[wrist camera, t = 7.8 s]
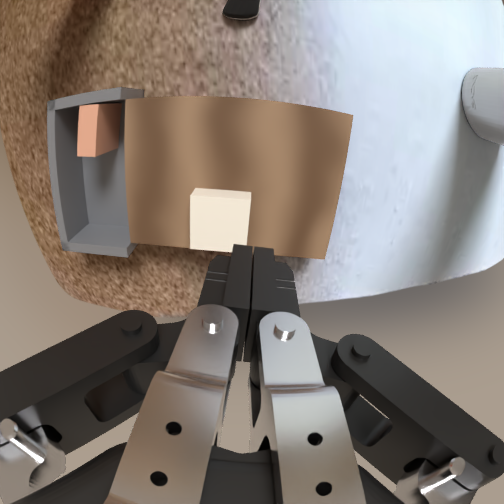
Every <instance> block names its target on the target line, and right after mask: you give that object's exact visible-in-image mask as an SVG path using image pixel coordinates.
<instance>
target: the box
mask: <svg viewBox="0 0 504 504" xmlns="http://www.w3.org/2000/svg"><path fill="white" fill-rule="evenodd" d="M135 98H144V90H141V89H133V88H123V87H119V88H112V89H105V90H99V91H93V92H87V93H82V94H77V95H72V96H68V97H63V98H59V99H55V100H51V101H48V102H47V139H48V158H49V170H50V180H51V188H52V196H53V202H54V209H55V215H56V220H57V226H58V231H59V235H60V240H61V244H62V249H63V250H64V251H73V252H82V253H91V254H100V255H109V256H118V257H129V255H130V254H131V253H132V251H133V250H134V249H135V247H136V246H137V245H138V243H131V242H130V233H129V223H128V212H127V199H126V182H125V148H124V135H125V101H126V99H135ZM113 103H122V108H121V118H120V130H119V145H118V148H117V149H114V150H112V151H109V152H106V153H104V154H101V155H99V156H96V157H82V156H77V142H78V121H79V108H80V105H93V104H113Z"/></svg>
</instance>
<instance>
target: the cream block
mask: <svg viewBox="0 0 504 504" xmlns="http://www.w3.org/2000/svg"><path fill="white" fill-rule="evenodd" d="M250 205H251V192H244V191H232V190H219V189H204V188H195V189H194V191H193V192H192V194H191V195H190V249H198V250H210V251H222V252H232V249H233V244H239V245H247V236H248V225H249V215H250Z"/></svg>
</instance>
